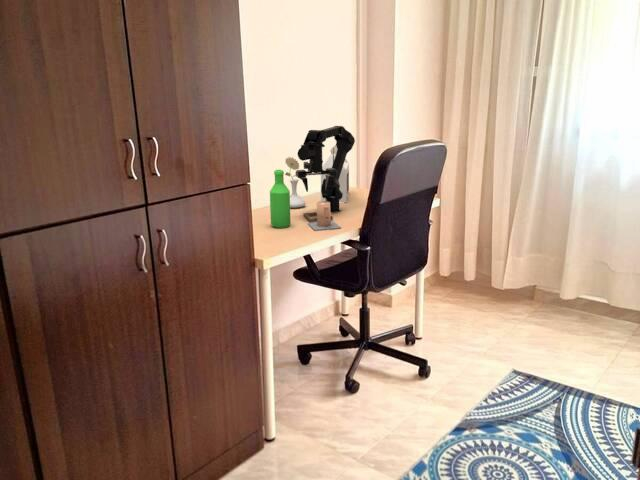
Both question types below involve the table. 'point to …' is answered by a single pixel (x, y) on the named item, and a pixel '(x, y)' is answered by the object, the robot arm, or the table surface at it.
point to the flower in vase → (294, 184)
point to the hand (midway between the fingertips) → (316, 191)
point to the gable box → (343, 176)
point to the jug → (323, 214)
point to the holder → (313, 214)
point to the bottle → (280, 202)
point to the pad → (318, 228)
